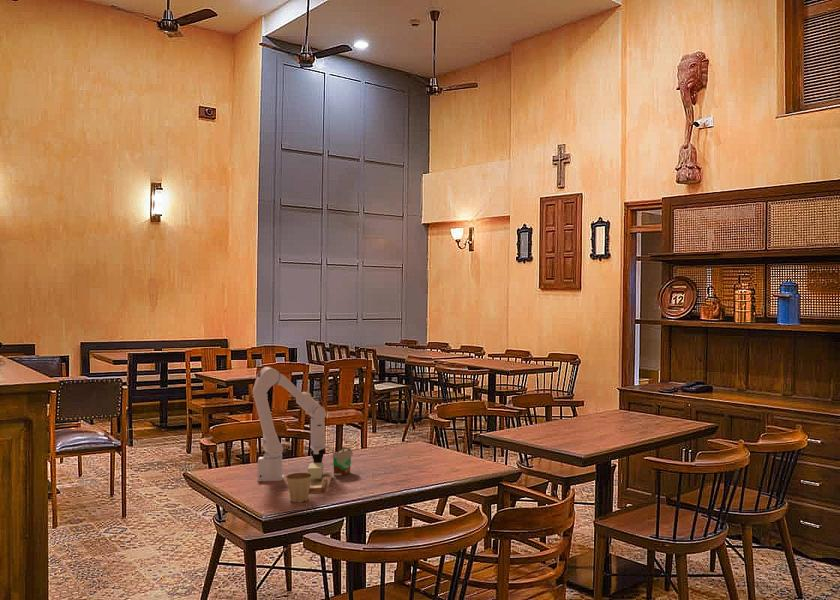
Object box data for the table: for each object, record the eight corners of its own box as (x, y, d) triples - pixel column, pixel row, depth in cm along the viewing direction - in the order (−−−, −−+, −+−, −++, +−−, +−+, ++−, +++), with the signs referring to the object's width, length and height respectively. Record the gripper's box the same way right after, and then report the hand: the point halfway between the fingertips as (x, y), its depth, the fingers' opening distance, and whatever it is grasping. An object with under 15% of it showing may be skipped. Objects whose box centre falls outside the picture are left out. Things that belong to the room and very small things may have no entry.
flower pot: (289, 505, 241) (288, 480, 241) (283, 498, 249) (282, 474, 249) (315, 502, 245) (315, 477, 245) (308, 495, 253) (308, 471, 253)
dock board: (293, 494, 255) (293, 488, 255) (301, 477, 278) (301, 473, 278) (326, 493, 255) (326, 488, 255) (331, 477, 278) (331, 472, 278)
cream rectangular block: (307, 482, 270) (307, 468, 270) (310, 476, 279) (310, 462, 279) (321, 482, 270) (321, 468, 270) (323, 475, 280) (323, 462, 280)
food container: (347, 479, 276) (347, 453, 276) (332, 478, 277) (332, 453, 277) (356, 471, 288) (356, 447, 288) (342, 470, 289) (342, 446, 289)
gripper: (326, 438, 277) (326, 472, 277) (329, 431, 291) (329, 463, 291) (308, 438, 276) (308, 472, 276) (312, 431, 291) (312, 464, 291)
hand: (318, 468), depth 284 cm, fingers closed
